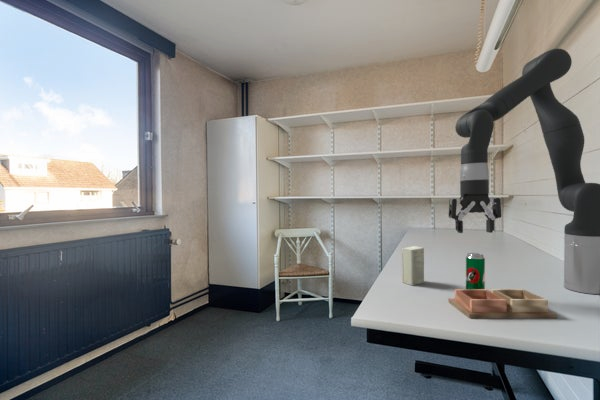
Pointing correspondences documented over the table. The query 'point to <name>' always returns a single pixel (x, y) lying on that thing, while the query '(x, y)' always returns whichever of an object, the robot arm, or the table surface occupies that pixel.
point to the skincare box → (413, 265)
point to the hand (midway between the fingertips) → (474, 232)
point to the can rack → (500, 304)
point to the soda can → (475, 271)
